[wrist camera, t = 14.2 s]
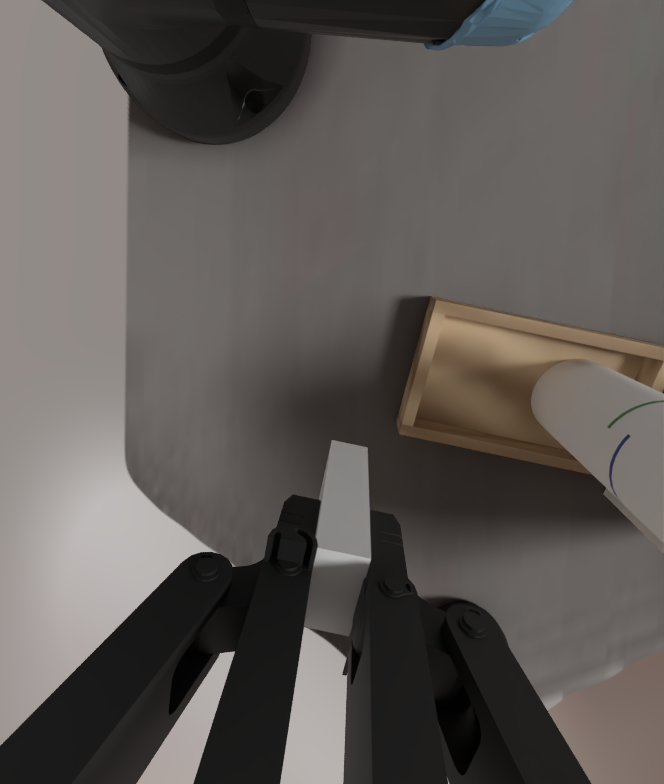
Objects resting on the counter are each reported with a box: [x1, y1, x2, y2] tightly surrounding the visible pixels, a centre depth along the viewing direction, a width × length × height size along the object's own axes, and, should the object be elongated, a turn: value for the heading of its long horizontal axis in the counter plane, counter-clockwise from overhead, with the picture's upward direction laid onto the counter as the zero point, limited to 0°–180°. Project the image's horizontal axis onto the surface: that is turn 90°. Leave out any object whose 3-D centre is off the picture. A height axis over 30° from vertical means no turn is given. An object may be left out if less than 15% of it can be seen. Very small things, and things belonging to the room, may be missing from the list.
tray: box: [396, 296, 664, 475], centre depth 36 cm, size 12×20×3 cm, turn 79°
